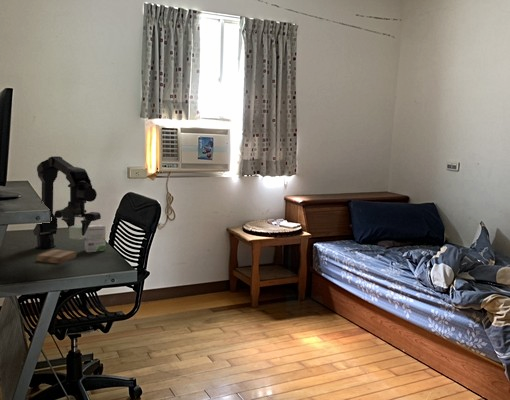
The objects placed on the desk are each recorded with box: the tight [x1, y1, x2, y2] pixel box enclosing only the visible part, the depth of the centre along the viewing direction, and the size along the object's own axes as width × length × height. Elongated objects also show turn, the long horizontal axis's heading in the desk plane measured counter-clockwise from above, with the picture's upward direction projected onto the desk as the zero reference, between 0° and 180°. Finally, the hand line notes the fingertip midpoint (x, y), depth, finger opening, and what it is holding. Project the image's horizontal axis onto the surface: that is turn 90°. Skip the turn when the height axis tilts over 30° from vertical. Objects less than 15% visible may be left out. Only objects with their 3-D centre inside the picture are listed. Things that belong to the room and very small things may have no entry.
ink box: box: [84, 224, 107, 253], centre depth 225 cm, size 8×5×12 cm, turn 119°
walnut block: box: [36, 248, 77, 264], centre depth 209 cm, size 11×11×3 cm
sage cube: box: [68, 224, 87, 240], centre depth 208 cm, size 5×5×5 cm
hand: (77, 234), depth 208 cm, fingers closed on sage cube, 5 cm apart
